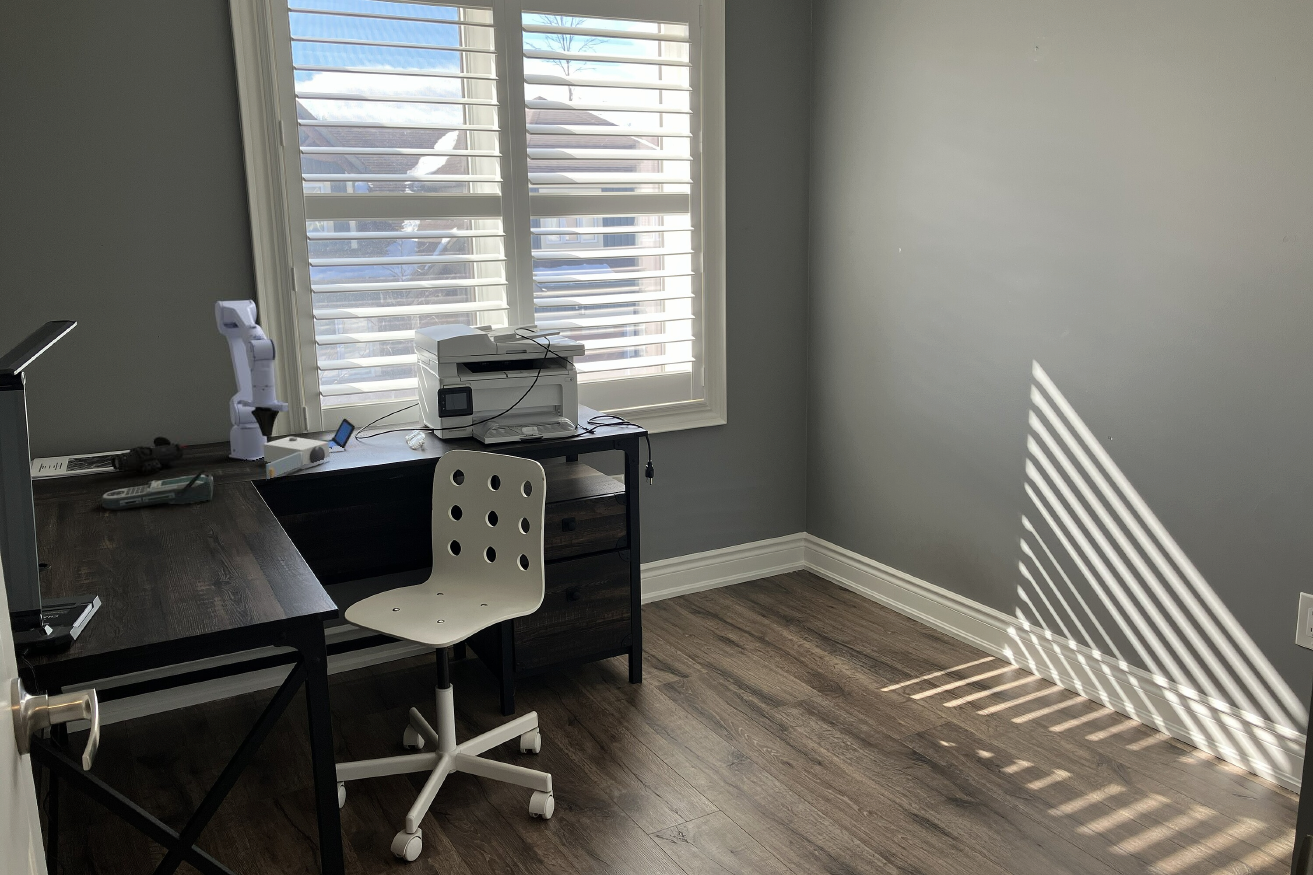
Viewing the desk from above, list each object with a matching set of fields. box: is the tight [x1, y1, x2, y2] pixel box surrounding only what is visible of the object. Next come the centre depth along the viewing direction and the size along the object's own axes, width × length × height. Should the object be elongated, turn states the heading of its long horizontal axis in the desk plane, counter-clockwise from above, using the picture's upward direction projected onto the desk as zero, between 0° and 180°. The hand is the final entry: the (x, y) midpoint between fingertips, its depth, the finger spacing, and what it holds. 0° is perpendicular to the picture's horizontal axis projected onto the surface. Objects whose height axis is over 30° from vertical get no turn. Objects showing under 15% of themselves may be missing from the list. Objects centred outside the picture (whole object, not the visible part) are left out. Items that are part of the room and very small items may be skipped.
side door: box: [265, 452, 303, 480], centre depth 256 cm, size 14×2×4 cm, turn 164°
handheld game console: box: [322, 418, 356, 449], centre depth 287 cm, size 12×11×7 cm
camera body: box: [263, 435, 331, 465], centre depth 270 cm, size 15×10×6 cm
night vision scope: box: [110, 436, 186, 476], centre depth 259 cm, size 8×18×10 cm
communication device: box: [100, 468, 214, 511], centre depth 234 cm, size 12×24×9 cm, turn 112°
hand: (267, 435), depth 261 cm, fingers closed
